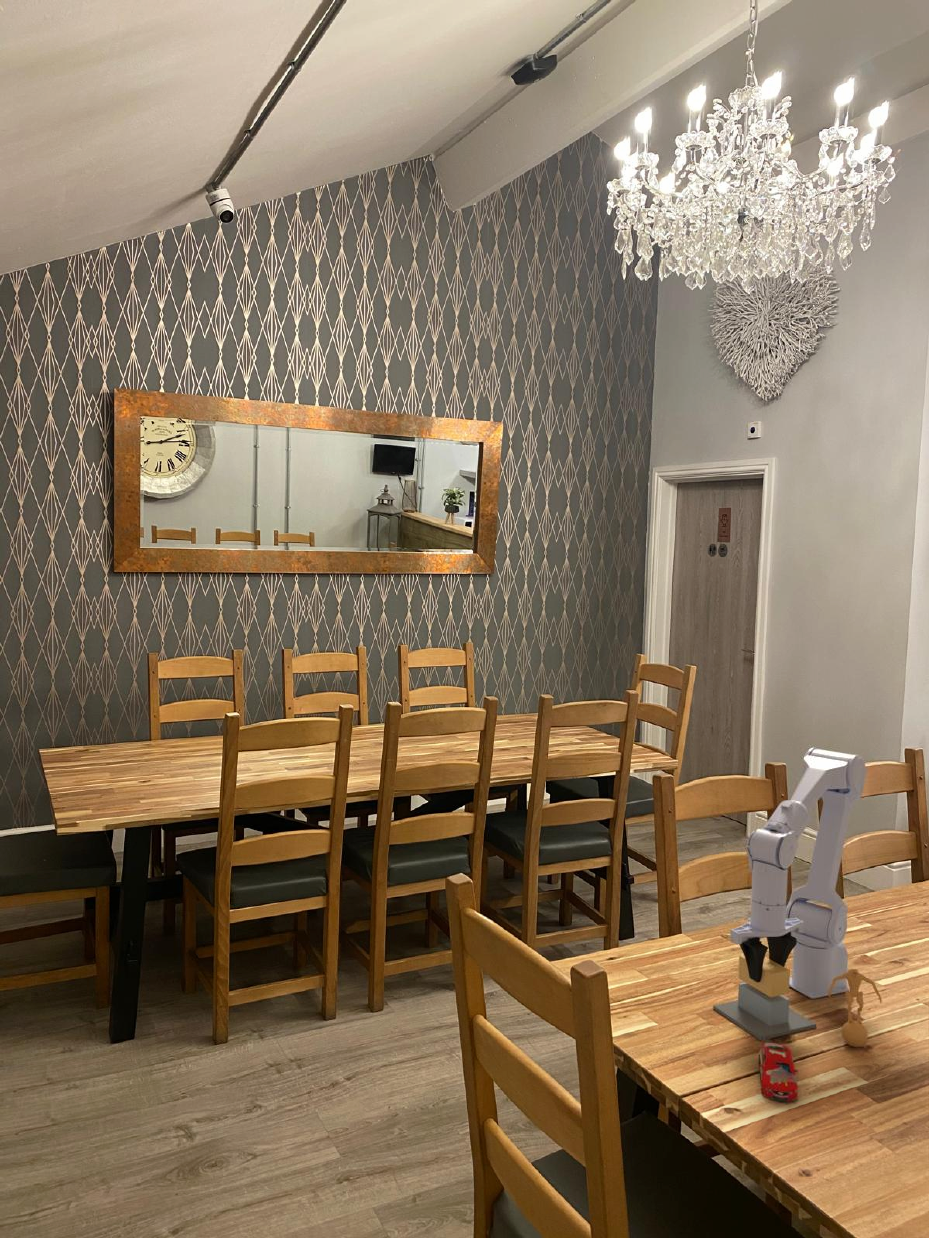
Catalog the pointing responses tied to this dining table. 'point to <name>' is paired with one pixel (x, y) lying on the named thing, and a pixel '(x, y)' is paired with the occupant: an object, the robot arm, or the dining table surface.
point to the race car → (777, 1072)
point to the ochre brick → (767, 977)
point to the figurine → (852, 1029)
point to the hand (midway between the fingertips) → (765, 977)
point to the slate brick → (763, 1005)
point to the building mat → (761, 1028)
